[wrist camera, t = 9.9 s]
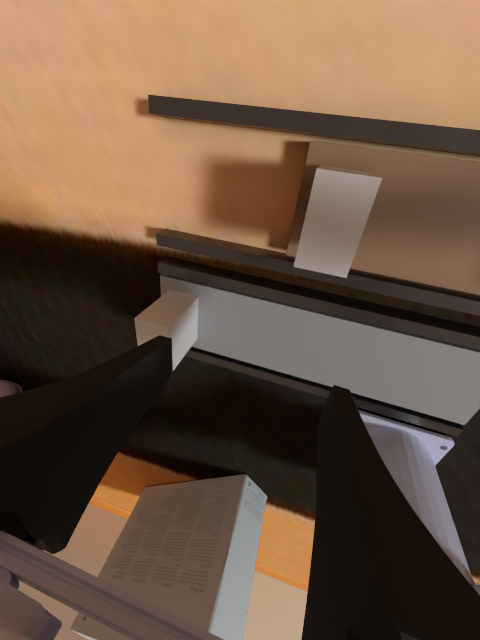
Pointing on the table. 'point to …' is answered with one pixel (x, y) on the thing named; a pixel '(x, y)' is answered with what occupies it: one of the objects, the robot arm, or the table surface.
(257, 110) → the lane rails
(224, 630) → the skincare box
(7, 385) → the headphones
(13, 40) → the table surface
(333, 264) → the strip
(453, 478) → the table surface
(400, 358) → the strip
